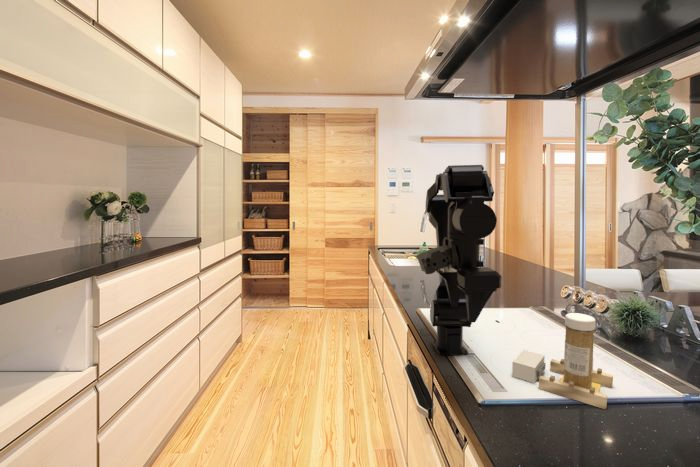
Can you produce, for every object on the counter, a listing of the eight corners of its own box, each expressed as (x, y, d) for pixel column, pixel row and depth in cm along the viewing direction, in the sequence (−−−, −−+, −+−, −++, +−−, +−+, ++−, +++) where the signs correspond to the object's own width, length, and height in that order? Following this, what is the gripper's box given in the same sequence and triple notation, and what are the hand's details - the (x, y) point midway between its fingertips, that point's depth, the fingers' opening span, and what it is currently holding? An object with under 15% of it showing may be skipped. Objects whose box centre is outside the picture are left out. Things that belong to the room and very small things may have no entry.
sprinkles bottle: (596, 388, 63) (600, 316, 62) (585, 397, 60) (589, 322, 59) (569, 378, 67) (572, 310, 65) (557, 385, 64) (560, 315, 63)
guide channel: (538, 388, 64) (539, 374, 64) (551, 368, 71) (552, 356, 71) (605, 409, 57) (606, 394, 57) (612, 385, 64) (613, 372, 64)
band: (555, 389, 63) (555, 388, 63) (563, 374, 68) (563, 374, 68) (595, 402, 59) (595, 401, 59) (601, 385, 64) (601, 384, 64)
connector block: (512, 376, 68) (512, 361, 68) (523, 363, 73) (523, 349, 73) (537, 384, 65) (537, 368, 65) (546, 370, 70) (547, 356, 70)
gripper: (410, 229, 74) (410, 301, 75) (435, 239, 55) (435, 334, 57) (461, 228, 74) (460, 299, 76) (504, 237, 56) (501, 331, 57)
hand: (462, 313), depth 67 cm, fingers open, 9 cm apart
